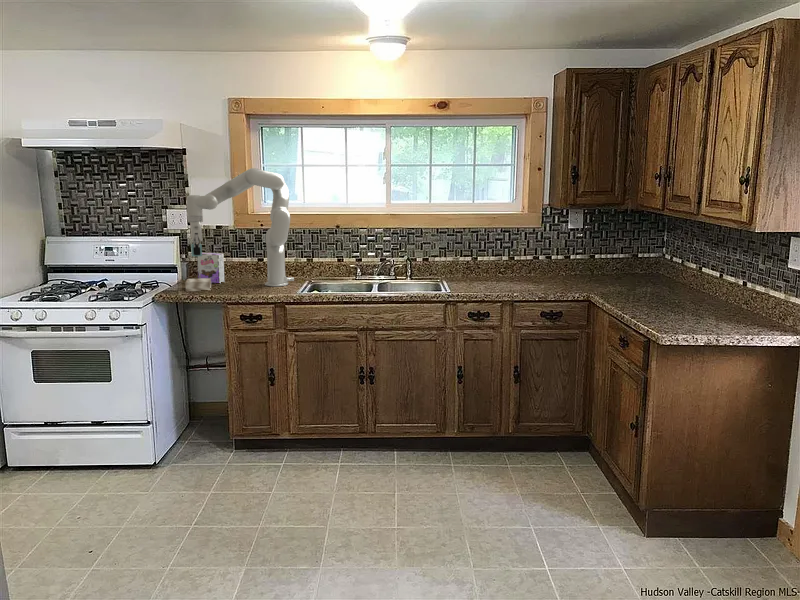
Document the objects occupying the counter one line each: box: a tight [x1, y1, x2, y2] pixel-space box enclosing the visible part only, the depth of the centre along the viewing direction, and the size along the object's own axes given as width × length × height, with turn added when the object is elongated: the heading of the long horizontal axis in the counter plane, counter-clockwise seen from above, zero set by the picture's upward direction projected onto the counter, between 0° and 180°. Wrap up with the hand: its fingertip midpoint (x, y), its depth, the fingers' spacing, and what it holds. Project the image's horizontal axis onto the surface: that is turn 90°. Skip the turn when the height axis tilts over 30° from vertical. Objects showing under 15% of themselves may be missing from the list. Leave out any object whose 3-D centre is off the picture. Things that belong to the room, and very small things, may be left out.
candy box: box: [196, 252, 225, 284], centre depth 364 cm, size 14×6×16 cm, turn 73°
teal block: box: [190, 243, 203, 257], centre depth 340 cm, size 5×5×6 cm
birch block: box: [184, 278, 212, 292], centre depth 344 cm, size 12×12×5 cm
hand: (196, 253), depth 341 cm, fingers closed on teal block, 5 cm apart
